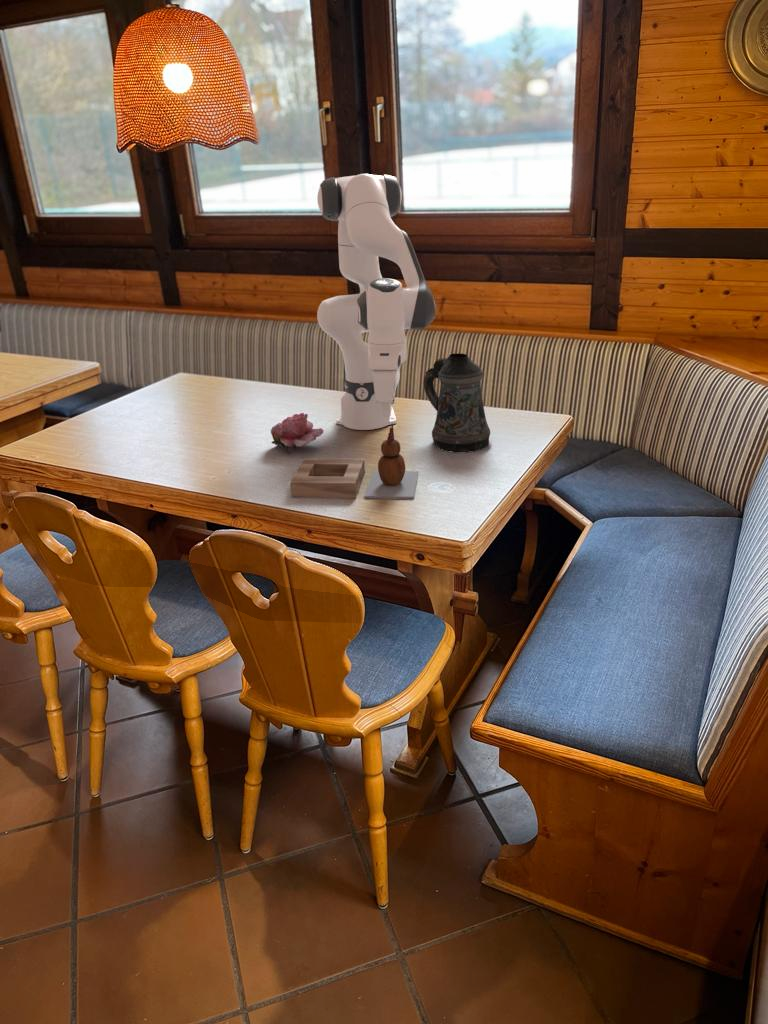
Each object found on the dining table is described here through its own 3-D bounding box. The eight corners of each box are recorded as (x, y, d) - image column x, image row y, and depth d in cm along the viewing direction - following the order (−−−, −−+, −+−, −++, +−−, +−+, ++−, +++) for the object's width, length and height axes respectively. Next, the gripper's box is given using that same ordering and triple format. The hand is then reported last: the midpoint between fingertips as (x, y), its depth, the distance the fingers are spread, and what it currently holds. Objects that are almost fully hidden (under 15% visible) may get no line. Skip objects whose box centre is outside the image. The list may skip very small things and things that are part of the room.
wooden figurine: (391, 476, 193) (389, 420, 186) (409, 481, 189) (407, 424, 183) (374, 484, 188) (371, 427, 182) (392, 490, 185) (389, 432, 178)
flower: (332, 431, 219) (318, 400, 215) (315, 455, 207) (300, 423, 203) (288, 441, 225) (275, 412, 221) (269, 465, 213) (255, 435, 209)
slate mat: (372, 472, 197) (372, 470, 197) (418, 473, 195) (418, 471, 195) (364, 498, 182) (364, 496, 182) (413, 498, 181) (413, 496, 181)
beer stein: (487, 454, 206) (489, 363, 195) (417, 451, 210) (415, 363, 199) (492, 433, 220) (494, 348, 210) (426, 431, 224) (425, 348, 213)
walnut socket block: (305, 472, 199) (303, 458, 197) (365, 472, 197) (364, 458, 195) (291, 497, 185) (290, 482, 183) (356, 498, 183) (355, 483, 181)
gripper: (379, 341, 184) (381, 396, 190) (368, 364, 166) (370, 424, 172) (404, 341, 183) (406, 396, 190) (396, 364, 165) (398, 424, 171)
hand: (389, 409), depth 181 cm, fingers open, 8 cm apart
